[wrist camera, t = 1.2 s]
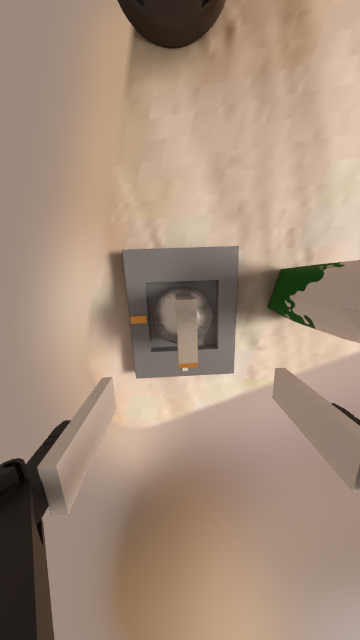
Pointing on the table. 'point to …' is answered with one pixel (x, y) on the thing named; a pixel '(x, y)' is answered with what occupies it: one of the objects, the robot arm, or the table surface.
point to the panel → (172, 272)
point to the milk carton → (321, 297)
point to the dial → (183, 322)
